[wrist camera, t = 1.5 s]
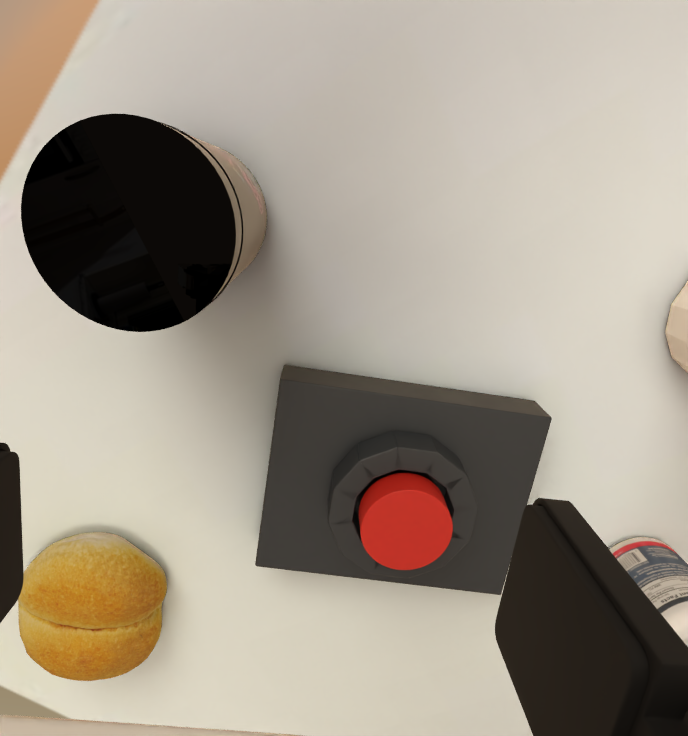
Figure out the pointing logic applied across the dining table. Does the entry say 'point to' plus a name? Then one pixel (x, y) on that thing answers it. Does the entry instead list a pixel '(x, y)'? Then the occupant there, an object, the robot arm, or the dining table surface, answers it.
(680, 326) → the white cup
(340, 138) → the dining table surface
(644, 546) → the pill bottle
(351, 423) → the control box
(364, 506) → the button
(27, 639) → the bread roll
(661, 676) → the robot arm
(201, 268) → the supplement container
